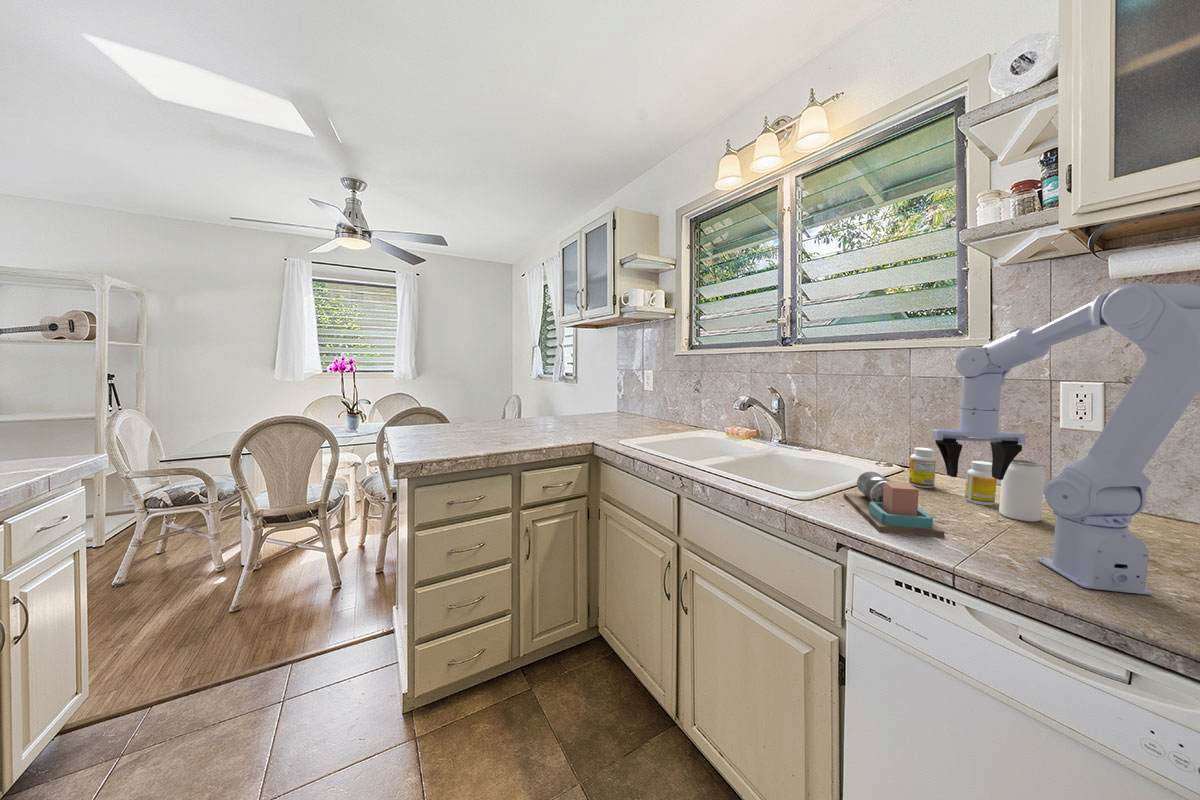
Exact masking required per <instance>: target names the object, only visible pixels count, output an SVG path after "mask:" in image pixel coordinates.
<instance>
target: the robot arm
mask: <svg viewBox="0 0 1200 800" xmlns="http://www.w3.org/2000/svg"><path fill="white" fill-rule="evenodd" d="M1107 327H1111V328H1112V329H1113V330H1115V331H1116V332H1118V333H1119V334H1121V335H1122V336H1123V337H1125V338H1127V339H1128V340H1129V341H1131V342H1132V343H1134V344H1135V345H1137V346H1138V348H1139V349H1140V351H1142V353H1143V354H1144V356H1145V357H1146V360H1145V362H1144V363H1143V365H1142V366H1141V368H1140V370H1139V372H1138V373H1137V375H1136V376H1135V378H1134V380H1133V381H1132V383H1131V384H1130V386H1129V387H1128V388H1127V391H1126V393H1125V394H1124V396H1123V397H1122V399H1121V401H1120V402H1119V404H1118V405H1117V407H1116V408H1115V409H1114V411H1113V413H1112V414H1111V416H1110V418H1109V419H1108V421H1107V422H1106V424H1105V426H1104V427H1103V429H1102V431H1101V432H1100V434H1099V436H1098V437H1097V439H1096V440H1095V442H1094V443H1093V445H1092V447H1091V449H1090V450H1089V452H1088V453H1087V454H1086V455H1084V456H1083V457H1081V458H1079V459H1078V460H1076V461H1073V462H1071V463H1069V464H1068V465H1066V466H1065V468H1064V469H1063V470H1062V471H1061V473H1060V474H1058V475H1057V476H1056V477H1053V478H1051V479H1050V480H1048V482H1047V483H1046V484H1045V485H1044V494H1043V497H1044V499H1045V501H1046V503H1047V505H1048V506H1049V508H1051V510H1052V512H1053V513H1052V514H1053V515H1055V525H1054V527H1055V528H1054V537H1053V545H1052V546H1053V549H1052V558H1050V557H1042V556H1041V557H1040V556H1039V557H1038V556H1037V557H1036V561H1037V562H1039V563H1040V564H1043V565H1044V566H1045V567H1048V568H1049V569H1051V570H1052V571H1054V572H1056V573H1058V574H1060V575H1061V576H1063V577H1064V578H1067V579H1068V580H1070V581H1072V582H1073V583H1075V584H1077V585H1078V586H1080V587H1082V588H1085V589H1091V590H1092V589H1093V590H1099V591H1100V590H1102V591H1110V592H1119V593H1127V594H1129V593H1130V594H1138V595H1147V596H1148V595H1149V596H1150V595H1153V591H1151V590H1150V589H1148V588H1146V583H1147V582H1146V580H1147V573H1148V564H1149V554H1150V553H1149V549H1148V547H1147V545H1146V544H1145V543H1144V541H1143V540H1142V539H1140V538H1139V537H1137V536H1136V535H1134V534H1133V533H1132V531H1130V529H1129V524H1131V523H1132V517H1135V516H1137V515H1138V514H1140V513H1141V512H1142V511H1143V510H1144V509H1145V507H1146V504H1147V496H1146V495H1147V491H1148V489H1149V487H1150V485H1151V484H1152V481H1151V479H1150V478H1149V476H1147V475H1146V474H1145V473H1144V472H1143V471H1144V469H1145V468H1146V466H1147V465H1148V464H1149V462H1150V460H1151V459H1152V458H1153V457H1154V454H1156V452H1157V450H1158V449H1159V448H1160V446H1161V445H1162V444H1163V442H1164V440H1165V439H1166V437H1167V436H1168V435H1169V434H1170V433H1171V431H1172V429H1174V427H1175V425H1176V424H1177V422H1178V421H1179V419H1180V418H1181V417H1182V415H1183V414H1184V412H1185V411H1186V410H1187V408H1188V407H1189V406H1190V404H1191V402H1192V401H1193V399H1194V398H1195V397H1196V395H1198V393H1199V391H1200V283H1198V282H1197V283H1196V282H1195V283H1184V284H1183V283H1182V284H1181V283H1179V284H1177V283H1176V284H1175V283H1149V282H1137V281H1136V282H1130V283H1126V284H1123V285H1121V286H1119V287H1117V288H1116V289H1114V290H1113V291H1107V292H1105V293H1100V294H1099V295H1097V296H1096V298H1095V299H1094V300H1092V301H1091V302H1088V303H1087V304H1084V305H1082V306H1081V307H1079V308H1077V309H1075V310H1073V311H1071V312H1069V313H1066V314H1065V315H1062V316H1061V317H1059V318H1057V319H1054V320H1053V321H1051V322H1049V323H1047V324H1044V325H1042V326H1040V327H1039V328H1034V327H1027V326H1026V327H1015V328H1012V329H1010V330H1009V333H1008V334H1007V335H1004V336H1001V337H1000V338H998V339H996V340H995V339H994V340H992V339H991V340H988V341H987V342H985V344H983V346H981V347H978V346H966V347H965V348H964V349H963V350H961V351H960V352H959V353H958V355H957V356H956V359H955V369H956V371H957V373H959V374H960V376H962V383H961V394H960V411H959V422H958V428H955V429H954V428H952V429H950V428H948V429H947V428H945V429H943V428H942V429H940V428H939V429H936V428H935V429H932V432H931V433H932V434H931V435H932V436H931V439H933V440H935V441H934V442H935V445H936V446H937V448H938V449H939V452H940V454H941V456H942V459H943V462H944V465H945V470H946V474H947V476H950V477H952V478H957V477H958V472H959V461H960V455H961V452H962V449H963V444H961V443H959V442H958V441H962V442H963V441H964V442H988V443H989V444H990V448H991V455H992V456H991V457H992V462H991V463H992V477H993V478H996V479H997V480H1000V481H1001V480H1003V478H1004V475H1005V473H1006V471H1007V469H1008V467H1009V465H1010V463H1011V462H1012V460H1015V458H1016V457H1017V456H1018V454H1020V453H1021V452H1022V451H1023V444H1026V438H1027V434H1026V433H1025V432H1020V431H1006V430H1005V431H1003V430H1002V431H1001V430H999V420H1000V408H1001V407H1000V405H1001V397H1002V396H1001V395H1002V386H1003V384H1005V381H1006V376H1007V374H1008V373H1010V371H1011V370H1012V369H1013V368H1016V367H1018V366H1021V365H1024V364H1027V363H1029V362H1032V361H1035V360H1037V359H1040V358H1042V357H1044V356H1046V355H1047V354H1048V352H1049V351H1050V348H1051V346H1054V345H1056V344H1059V343H1062V342H1065V341H1069V340H1072V339H1074V338H1077V337H1081V336H1083V335H1087V334H1089V333H1091V332H1094V331H1098V330H1101V329H1103V328H1104V329H1105V328H1107Z"/></svg>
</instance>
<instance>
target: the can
mask: <svg viewBox="0 0 1200 800" xmlns="http://www.w3.org/2000/svg"><path fill="white" fill-rule="evenodd" d="M1043 466H1044V464H1043V463H1040V462H1037V461H1032V460H1024V459H1013V460H1012V462H1011V463H1010V465H1009V467H1008V469H1007V471H1006V473H1005V475H1004V478H1003V480H1000V494H999V508H998V512H999V514H1000V515H1001V516H1003V517H1005V518H1008V519H1010V520H1014V521H1020V522H1028V523H1037V522H1040V521H1041V520H1042V515H1043V514H1042V513H1043V502H1044V489H1045V480H1046V471H1045V469H1044V467H1043Z"/></svg>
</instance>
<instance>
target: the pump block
mask: <svg viewBox="0 0 1200 800" xmlns="http://www.w3.org/2000/svg"><path fill="white" fill-rule="evenodd" d="M892 482H893V481H891V482H884V492H883V509H882V510H884V511H885V512H886V513H887V514H897V515H910V516H917V510H918V508H919V492H920V489H918V487H915V486H912V485H910V484H909V482H908V483H905V482H894V483H892Z"/></svg>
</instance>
